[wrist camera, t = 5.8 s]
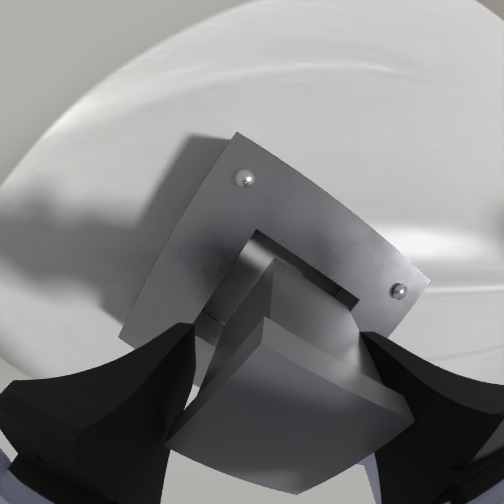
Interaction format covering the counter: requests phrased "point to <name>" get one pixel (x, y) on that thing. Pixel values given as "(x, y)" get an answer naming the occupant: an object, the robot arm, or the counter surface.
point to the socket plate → (281, 231)
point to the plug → (289, 391)
